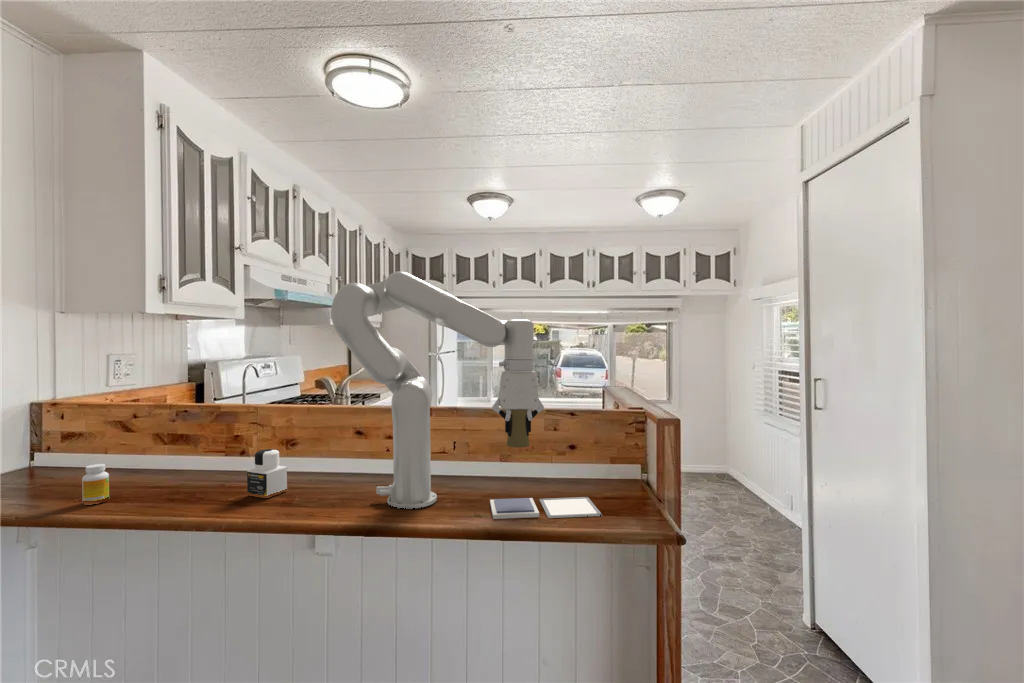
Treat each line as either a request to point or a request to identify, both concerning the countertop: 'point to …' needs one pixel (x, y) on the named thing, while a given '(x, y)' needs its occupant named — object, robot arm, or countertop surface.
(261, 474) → the medicine bottle
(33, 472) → the countertop surface
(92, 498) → the supplement bottle
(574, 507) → the marked square
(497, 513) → the ink pad
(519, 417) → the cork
